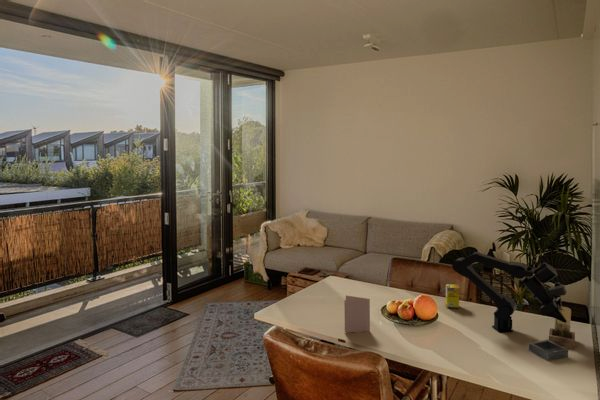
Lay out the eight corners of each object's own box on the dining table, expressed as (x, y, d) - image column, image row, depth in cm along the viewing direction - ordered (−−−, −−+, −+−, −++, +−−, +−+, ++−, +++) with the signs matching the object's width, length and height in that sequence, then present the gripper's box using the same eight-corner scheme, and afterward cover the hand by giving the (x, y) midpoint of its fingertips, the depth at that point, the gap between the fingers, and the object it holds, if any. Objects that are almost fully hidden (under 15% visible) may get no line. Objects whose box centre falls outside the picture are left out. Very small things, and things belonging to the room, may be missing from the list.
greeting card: (370, 330, 196) (370, 298, 194) (364, 337, 189) (364, 303, 187) (346, 326, 201) (346, 294, 199) (340, 332, 194) (340, 299, 193)
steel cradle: (548, 361, 165) (548, 353, 164) (528, 350, 174) (528, 343, 173) (567, 357, 167) (568, 349, 167) (547, 346, 176) (547, 339, 176)
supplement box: (459, 309, 219) (459, 288, 218) (446, 308, 221) (447, 287, 219) (457, 304, 225) (457, 284, 224) (445, 304, 226) (445, 283, 225)
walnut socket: (548, 343, 179) (548, 335, 178) (549, 335, 186) (549, 327, 186) (574, 348, 174) (574, 340, 174) (574, 340, 182) (574, 332, 181)
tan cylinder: (560, 337, 177) (561, 311, 176) (551, 332, 182) (552, 306, 181) (572, 337, 177) (574, 310, 176) (563, 331, 183) (565, 306, 182)
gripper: (550, 283, 172) (582, 316, 167) (556, 272, 187) (585, 302, 182) (527, 299, 178) (557, 331, 172) (535, 287, 193) (562, 316, 187)
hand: (566, 319), depth 178 cm, fingers closed on tan cylinder, 5 cm apart
